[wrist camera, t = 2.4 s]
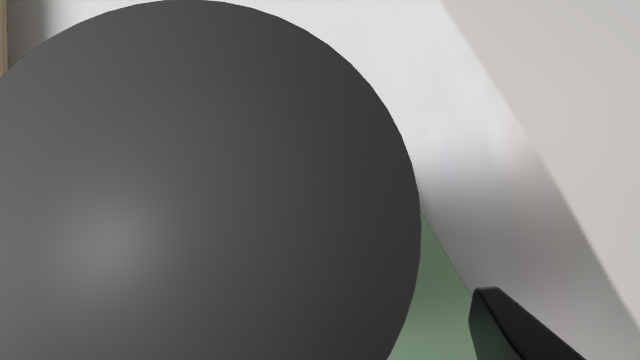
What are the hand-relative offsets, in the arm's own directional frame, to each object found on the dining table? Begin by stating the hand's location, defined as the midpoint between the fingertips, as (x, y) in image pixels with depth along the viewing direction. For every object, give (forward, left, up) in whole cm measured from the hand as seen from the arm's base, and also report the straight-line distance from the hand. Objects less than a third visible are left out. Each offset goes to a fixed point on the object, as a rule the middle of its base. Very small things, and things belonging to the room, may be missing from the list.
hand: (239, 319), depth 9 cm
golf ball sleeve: (+1, 0, -9) cm, 9 cm away
